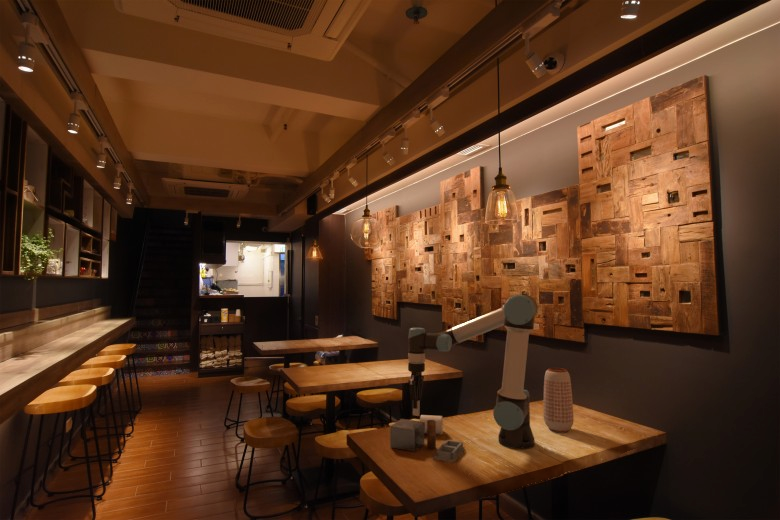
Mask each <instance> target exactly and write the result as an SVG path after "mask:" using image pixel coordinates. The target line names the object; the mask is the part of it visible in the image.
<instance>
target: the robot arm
mask: <svg viewBox="0 0 780 520" xmlns="http://www.w3.org/2000/svg"><path fill="white" fill-rule="evenodd" d="M538 309H539V308H538V303H537V301H536V300H535V299H534V298H533V297H532V296H530V295H529V294H525V293H524V294H515V295H512V296H510V297H509V298H508V299H507V300H506V301H505V303H503V304H502V307H500V308H498V309H495V310H492V311H490V312H487V313H485V314H483V315H479V316H478V317H476V318H473V319H471V320H469V321H466V322H464V323H463V322H462V323H461V324H458V325H456V326H453V327H451V328H448V329H447V330H444V331H441V332H437V333H434V332H432V333H429V332H426V329H425V328H423V327H411V328H409V330H408V341H407V342H408V354H407V357H408V360H407V361H408V362H407V363H408V365H407V366H408V367H407V371H408V372H410V379H408V382H407V383H408V385H409V395H410V396H409V397H410V401H411V402H412V416H417V417H420V411H421V410H420V408H421V406H420V405H421V404H420V402H421V401H422V399H423V398H422V397H423V385H424V379H425V375H423V374H422V373H424V372H425V369H426V364H425V362H426V351H434V352H441V353H442V352H450V351H451V348H452V346H455V345H457V344H460V343H462V342H465V341H468V340H469V339H470V340H471V339H473V338H475V337H477V336H481V335H483V334H486V333H488V332H491V331H492V330H496V329H497V328H501V327H504V328H505V329H506V340H505V341H506V342H505V348H504V349H505V351H504V359H503V360H504V362H503V371H502V381H501V388H499V390H497V394H496V403H495V406H494V407H493V420H494V421H495V422H496V424H497V425H498V426H499V427H500V430H499V432H498V437H497V438H498V441H497V442H498V443H499V444H500V445H502V446H504V447H507V448H510V449H515V450H517V449H518V450H519V449H520V450H525V449H531V448H533V447H534V446H535V445H536V443H535V442H536V441H535V440H536V439H535V437H534V434H533V431H532V428H531V415H530V414H531V413H530V409H531V408H530V398H531V396H530V392H529V391H528V390H527V389H525V379H526V369H527V368H526V365H527V358H528V357H527V356H528V347H529V336H530V333H531V332H533V330H534V328H535V327H534V325H535V318H536V315H537V314H538V312H539V311H538Z"/></svg>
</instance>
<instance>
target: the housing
mask: <svg viewBox="0 0 780 520" xmlns="http://www.w3.org/2000/svg"><path fill="white" fill-rule="evenodd" d="M389 428H390V429H389V431H390V432H389V433H390V434H389V435H390V436H389V437H390V438H389V439H390V442H389V443H390V445H389V446H390V447H389V448H392V449H393V448H394V449H399V450H403V451H409V452H416V451H417V450H419V449H420V448H421V447H422V446H423V445H424V444H425V433H424V431H425V422H420V420H412V419H405V418H400V419H399V420H397V421H396V422H394V423H392V424H391V425H390V427H389Z"/></svg>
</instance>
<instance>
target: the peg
mask: <svg viewBox="0 0 780 520" xmlns="http://www.w3.org/2000/svg"><path fill="white" fill-rule="evenodd" d="M426 438H427V439H426V444H427V445H426V446H427V447H426V448H427V450H431V451H432V450H436V449H437V440H436V438H437V434H436V421H435V420H428V421H427V434H426Z"/></svg>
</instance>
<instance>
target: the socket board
mask: <svg viewBox="0 0 780 520" xmlns="http://www.w3.org/2000/svg"><path fill="white" fill-rule="evenodd" d="M463 443H464V442H462V441H456V440H451V439H446V441H444V442H443V443H442V444H441V445H440V446H439V447H438V448H436V449H437V450H436V449H435V455H433V460H437V461H443V462H446V463H447V462H448V463H452V464H454V463H455V462H456V461H457V459H458V458H459V457H460V456H461V455H462V454H463V452H464V450H465V446H464V444H463Z"/></svg>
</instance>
